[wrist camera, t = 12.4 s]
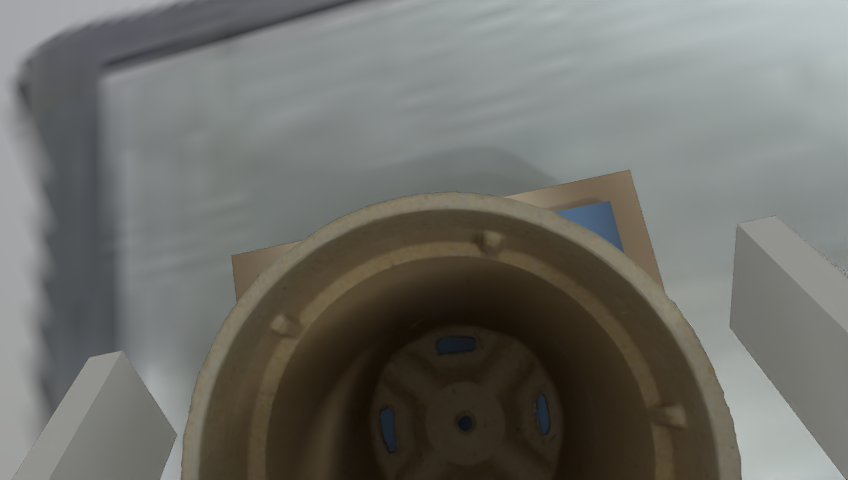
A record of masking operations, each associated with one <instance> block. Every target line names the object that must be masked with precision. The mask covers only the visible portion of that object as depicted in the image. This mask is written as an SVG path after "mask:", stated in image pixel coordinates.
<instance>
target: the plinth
mask: <svg viewBox="0 0 848 480" xmlns="http://www.w3.org/2000/svg"><path fill="white" fill-rule="evenodd" d="M505 198H511V199H515V200H518V201H522V202H525V203H528V204H531V205H535V206H538V207H541V208H544V209H546V210H549V211H552V212H554V213H557V214H559V215H561V216H564V217H566V218H568V219H569V220H571V221H573V222H575V223H577V224H579V225H581V226H583V227H585V228H587V229H588V230H590V231H592V232H594V233H596V234H598V235H599V236H601V237H602V238H604V239H605V240H607V241H608V242H610V243H611V244H613V245H614V246H615V247H616V248H618V249H619V250H620V251H621V252H623V253H624V254H625V255H626V256H627V257H628V258H629V259H631V260H632V261H634V262H636V263H637V264H638V265H639V266H640V267H641V268H642V269H643V270H644V271H645V272H646V273H647V274H648V275H649V276H650V277H651V278H652V279H653V280H654V281H655V282H656V283H657V284H658V285H659V286H660V287H661V288H662V290H663V291H664V292H665V290H664V287H663V283H662V280H661V277H660V273H659V270H658V266H657V263H656V259H655V256H654V252H653V249H652V246H651V242H650V239H649V235H648V232H647V228H646V225H645V222H644V218H643V215H642V211H641V208H640V204H639V201H638V197H637V194H636V191H635V187H634V184H633V180H632V177H631V173H630V170H626V171H622V172H617V173H612V174H608V175H603V176H598V177H594V178H589V179H585V180H580V181H575V182H571V183H566V184H561V185H557V186H552V187H547V188H543V189H538V190H534V191H529V192H524V193H520V194H515V195H510V196H506V197H505ZM302 241H303V240H302ZM299 242H301V241H297V242H293V243H288V244H283V245H279V246H274V247H269V248H265V249H260V250H256V251H251V252H246V253H242V254H237V255H232V263H233V272H234V281H235V290H236V299H237V303H238V301H239V299H240V298H241V297H242V296H243V294H244V293H245V292H246V291H247V290H248V289H249V288H250V286H251V285H252V284H253V283H254V282H255V280H256V279H257V278H258V277H259V276H260V274H261V273H262V272H263V271H264V270H265V269H266V268H267V267H268V266H269V265H272V264H274V262H275V261H276V259H277V258H279V257H280V256H281V255H283V254H284V253H285V252H287V251H289V250H290V249H291V248H292V247H293V246H294V245H296V244H298V243H299ZM474 348H475V340H474V339H472V338H468V337H465V338H459V337H446V338H443V339H441V340H440V341H439V342H438V343H437V349H438V351H439V353H440V354H441V355H443V354H445V353H446V354H447V353H451V352H467V351H472V350H473V349H474ZM536 401H537V408H538V409H537V414H536V413H534V415H535V417H538V419H539V423H540V431H541V433H542V434H545V433H546V432H547V431H548V428H549V416H548V411H547V405H546V402H545V397H544V396H540V397H538V398H537V399H536ZM381 423H382V431H383V435H384V440H385V442H386V444H387V445H388V448H389V452H393V451H395V450H396V439H395V433H394V424H395V415H394V413H393V412H392V411H391V410H389V409H388V408H387V409H386V410H383V411H382V412H381ZM458 425H459V427H460V428H461V429H462V430H464V431H467V430H469V429H470V428H471V426H472V421H471V419H470V418H469V417H468V416H464V417H462V418H461V419H460V420H459V421H458Z"/></svg>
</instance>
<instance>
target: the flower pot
mask: <svg viewBox="0 0 848 480" xmlns="http://www.w3.org/2000/svg"><path fill="white" fill-rule="evenodd" d="M446 337H459V338H465V337H468V338H472V339H474V340H475V348H474V349H473V350H472V351H467V352H451V353H447V354H446V353H445V354H443V355H441V354H440V353H439V351H438V349H437V343H438V342H439V341H440V340H441V339H443V338H446ZM540 396H544V397H545V402H546V405H547V411H548V416H549V428H548V431H547V432H546V433H545V434H542V433H541V431H540V423H539V419H538V417H535V415H534V413H536V414H537V409H538V408H537V401H536V399H537V398H538V397H540ZM387 408H388V409H389V410H391V411H392V412H393V413H394V415H395V424H394V433H395V439H396V450H395V451H393V452H389V448H388V445H387V444H386V442H385V440H384V435H383V431H382V423H381V412H382V411H383V410H386V409H387ZM464 416H468V417H469V418H470V419H471V421H472V426H471V428H470V429H469V430H467V431H464V430H462V429H461V428H460V427H459V425H458V421H459V420H460V419H461V418H462V417H464ZM181 467H182V472H181V480H742V478H741V457H740V453H739V449H738V445H737V441H736V433H735V430H734V423H733V419H732V417H731V414H730V410H729V407H728V406H727V404H726V401H725V399H724V392H723V390H722V388H721V386H720V384H719V382H718V380H717V377H716V374H715V371H714V368H713V366H712V364H711V362H710V360H709V358H708V356H707V354H706V352H705V350H704V349H703V347H702V345H701V343H700V341H699V339H698V337H697V335H696V333H695V331H694V330H693V329H692V327H691V326H690V324H689V323H688V322H687V320H686V319H685V317H684V316H683V315H682V313H681V312H680V310H679V309H678V307H677V306H676V304H675V303H674V302H673V301H672V300H670V299H669V298H668V296H667V295H666V293H665V292H664V291H663V290H662V288H661V287H660V286H659V285H658V284H657V283H656V282H655V281H654V280H653V279H652V278H651V277H650V276H649V275H648V274H647V273H646V272H645V271H644V270H643V269H642V268H641V267H640V266H639V265H638V264H637V263H636V262H634V261H632V260H631V259H629V258H628V257H627V256H626V255H625V254H624V253H623V252H621V251H620V250H619V249H618V248H616V247H615V246H614V245H613V244H611V243H610V242H608V241H607V240H605V239H604V238H602V237H601V236H599V235H598V234H596V233H594V232H592V231H590V230H588V229H587V228H585V227H583V226H581V225H579V224H577V223H575V222H573V221H571V220H569V219H568V218H566V217H564V216H561V215H559V214H557V213H554V212H552V211H549V210H546V209H544V208H541V207H538V206H535V205H531V204H528V203H525V202H522V201H518V200H515V199H511V198H505V197H499V196H493V195H481V194H477V193H459V192H443V193H427V194H418V195H411V196H405V197H400V198H397V199H393V200H389V201H384V202H381V203H378V204H374V205H369V206H367V207H365V208H362V209H360V210H357V211H355V212H352V213H350V214H348V215H345V216H343V217H340V218H338V219H336V220H334V221H332V222H331V223H329V224H327V225H325V226H324V227H322V228H321V229H319V230H318V231H316V232H315V233H313V234H312V235H310V236H309V237H307V238H306V239H304V240H303V241H301V242H299V243H298V244H296V245H294V246H293V247H292V248H291V249H290V250H289V251H287V252H285V253H284V254H283V255H281V256H280V257H279V258H277V259H276V261H275V262H274V264H272V265H269V266H268V267H267V268H266V269H265V270H264V271H263V272H262V273H261V274H260V276H259V277H258V278H257V279H256V280H255V282H254V283H253V284H252V285H251V286H250V288H249V289H248V290H247V291H246V292H245V293H244V294H243V296H242V297H241V298H240V299H239V301H238V303H237V305H236V306H235V307H234V308H233V309H232V310H231V312H230V314H229V316H228V317H227V318H226V320H225V321H224V323H223V325H222V327H221V329H220V330H219V332H218V333H217V335H216V337H215V340H214V342H213V344H212V346H211V349H210V351H209V353H208V355H207V357H206V359H205V361H204V363H203V365H202V367H201V370H200V372H199V375H198V378H197V381H196V385H195V388H194V391H193V395H192V399H191V405H190V410H189V416H188V421H187V425H186V428H185V432H184V437H183V456H182V462H181Z"/></svg>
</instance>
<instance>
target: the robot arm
mask: <svg viewBox="0 0 848 480" xmlns="http://www.w3.org/2000/svg"><path fill="white" fill-rule="evenodd" d="M730 328H731V330H732V331H733V332H734V334H735V335H736V336H737V337H738V339H739V340H740V341H741V343H742V344H743V345H744V347H745V348H746V349H747V351H748V352H749V353H750V355H751V356H752V357H753V358H754V360H755V361H756V362H757V364H758V365H759V366H760V368H761V369H762V370H763V372H764V373H765V374H766V375H767V377H768V378H769V379H770V381H771V382H772V383H773V385H774V386H775V387H776V389H777V390H778V391H779V393H780V394H781V395H782V396H783V398H784V399H785V400H786V402H787V403H788V404H789V406H790V407H791V408H792V410H793V411H794V412H795V413H796V415H797V416H798V417H799V419H800V420H801V421H802V423H803V424H804V425H805V427H806V428H807V429H808V431H809V432H810V433H811V434H812V436H813V437H814V438H815V440H816V441H817V442H818V444H819V445H820V446H821V448H822V449H823V450H824V452H825V453H826V454H827V455H828V457H829V458H830V459H831V461H832V462H833V463H834V465H835V466H836V467H837V469H838V470H839V471H840V472H841V474H842V475H843V476H844V478H845V479H846V480H848V278H847V277H846V276H845V275H844V274H843V273H842V272H840V271H839V270H838V269H837V268H836V267H835V266H834V265H832V264H831V263H830V262H829V261H828V260H827V259H825V258H824V257H823V256H822V255H821V254H820V253H819V252H817V251H816V250H815V249H814V248H813V247H812V246H810V245H809V244H808V243H807V242H806V241H805V240H803V239H802V238H801V237H800V236H799V235H798V234H797V233H795V232H794V231H793V230H792V229H791V228H790V227H788V226H787V225H786V224H785V223H784V222H783V221H781V220H780V219H779V218H778V217H777V216H771V217H766V218H762V219H757V220H752V221H747V222H742V223H737V230H736V244H735V258H734V272H733V286H732V300H731V315H730ZM176 436H177V434H176V432H175V431H174V429H173V428H172V426H171V424H170V423H169V421H168V420H167V418H166V417H165V415H164V414H163V412H162V411H161V409H160V408H159V406H158V404H157V403H156V401H155V400H154V398H153V397H152V395H151V394H150V392H149V391H148V389H147V388H146V386H145V384H144V383H143V381H142V380H141V378H140V377H139V375H138V374H137V372H136V371H135V369H134V367H133V366H132V364H131V363H130V361H129V360H128V358H127V357H126V355H125V354H124V352H123V351H118V352H113V353H108V354H103V355H98V356H94V357H89V359H88V360H87V362H86V363H85V365H84V367H83V368H82V370H81V371H80V373H79V374H78V376H77V378H76V379H75V381H74V382H73V384H72V386H71V387H70V389H69V390H68V392H67V393H66V395H65V397H64V398H63V400H62V401H61V403H60V404H59V406H58V408H57V409H56V411H55V412H54V414H53V416H52V417H51V419H50V420H49V422H48V423H47V425H46V427H45V428H44V430H43V431H42V433H41V434H40V436H39V438H38V439H37V441H36V442H35V444H34V445H33V447H32V449H31V450H30V452H29V453H28V455H27V457H26V458H25V460H24V461H23V463H22V464H21V466H20V468H19V469H18V471H17V472H16V474H15V476H14V477H13V479H12V480H160V478H161V475H162V473H163V470H164V467H165V465H166V462H167V460H168V457H169V454H170V452H171V449H172V447H173V444H174V442H175V439H176Z"/></svg>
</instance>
